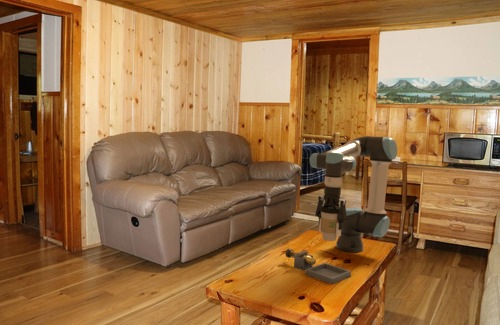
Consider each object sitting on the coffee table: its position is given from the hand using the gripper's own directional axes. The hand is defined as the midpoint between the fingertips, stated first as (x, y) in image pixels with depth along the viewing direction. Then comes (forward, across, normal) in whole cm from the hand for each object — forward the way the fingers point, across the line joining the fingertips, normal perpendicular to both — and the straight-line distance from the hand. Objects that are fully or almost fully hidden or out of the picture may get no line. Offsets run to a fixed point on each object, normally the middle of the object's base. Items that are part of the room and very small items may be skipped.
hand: (329, 234), depth 189 cm
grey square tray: (+20, 0, 0) cm, 20 cm away
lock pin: (+17, -15, -1) cm, 23 cm away
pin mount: (+20, -14, -1) cm, 24 cm away
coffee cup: (+3, 0, 0) cm, 3 cm away
